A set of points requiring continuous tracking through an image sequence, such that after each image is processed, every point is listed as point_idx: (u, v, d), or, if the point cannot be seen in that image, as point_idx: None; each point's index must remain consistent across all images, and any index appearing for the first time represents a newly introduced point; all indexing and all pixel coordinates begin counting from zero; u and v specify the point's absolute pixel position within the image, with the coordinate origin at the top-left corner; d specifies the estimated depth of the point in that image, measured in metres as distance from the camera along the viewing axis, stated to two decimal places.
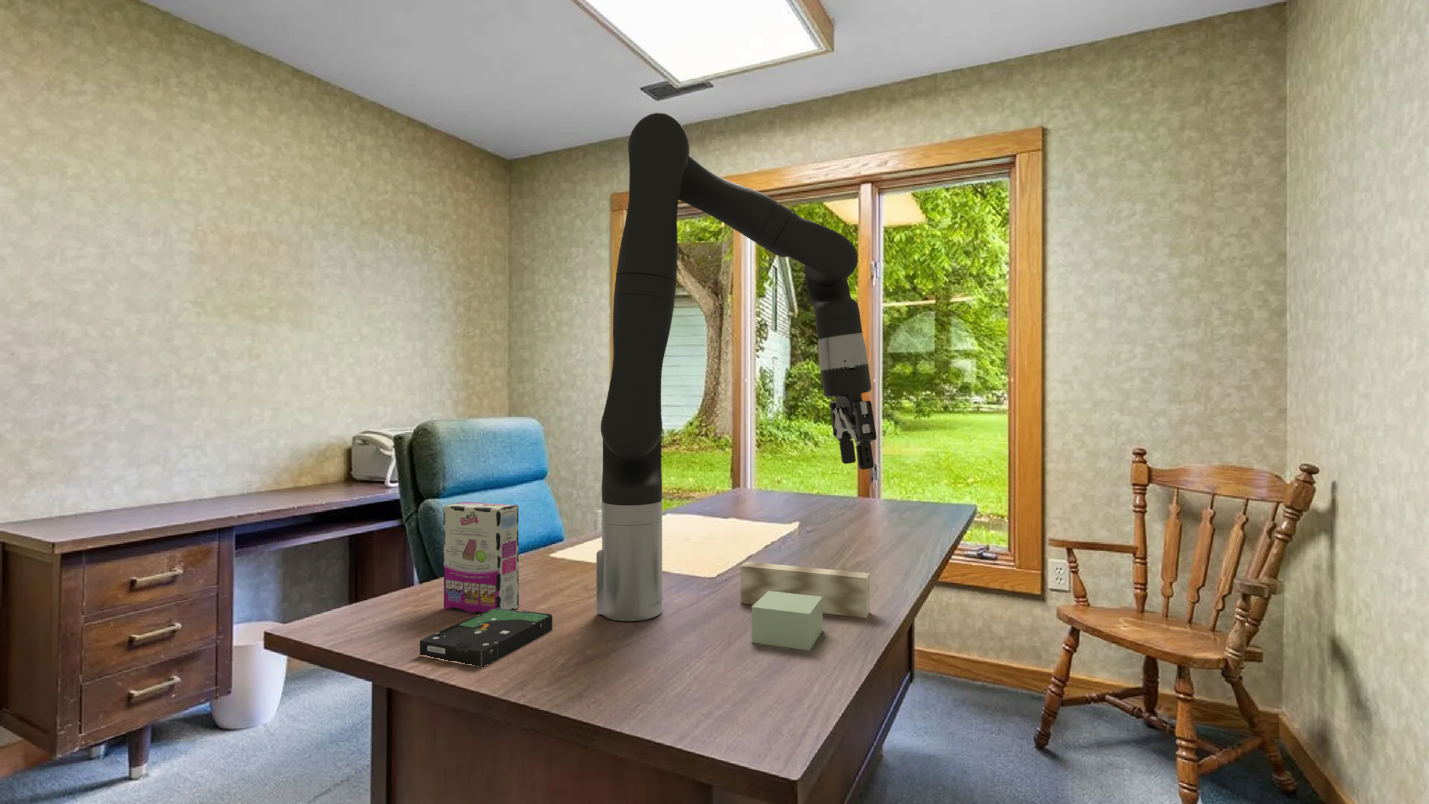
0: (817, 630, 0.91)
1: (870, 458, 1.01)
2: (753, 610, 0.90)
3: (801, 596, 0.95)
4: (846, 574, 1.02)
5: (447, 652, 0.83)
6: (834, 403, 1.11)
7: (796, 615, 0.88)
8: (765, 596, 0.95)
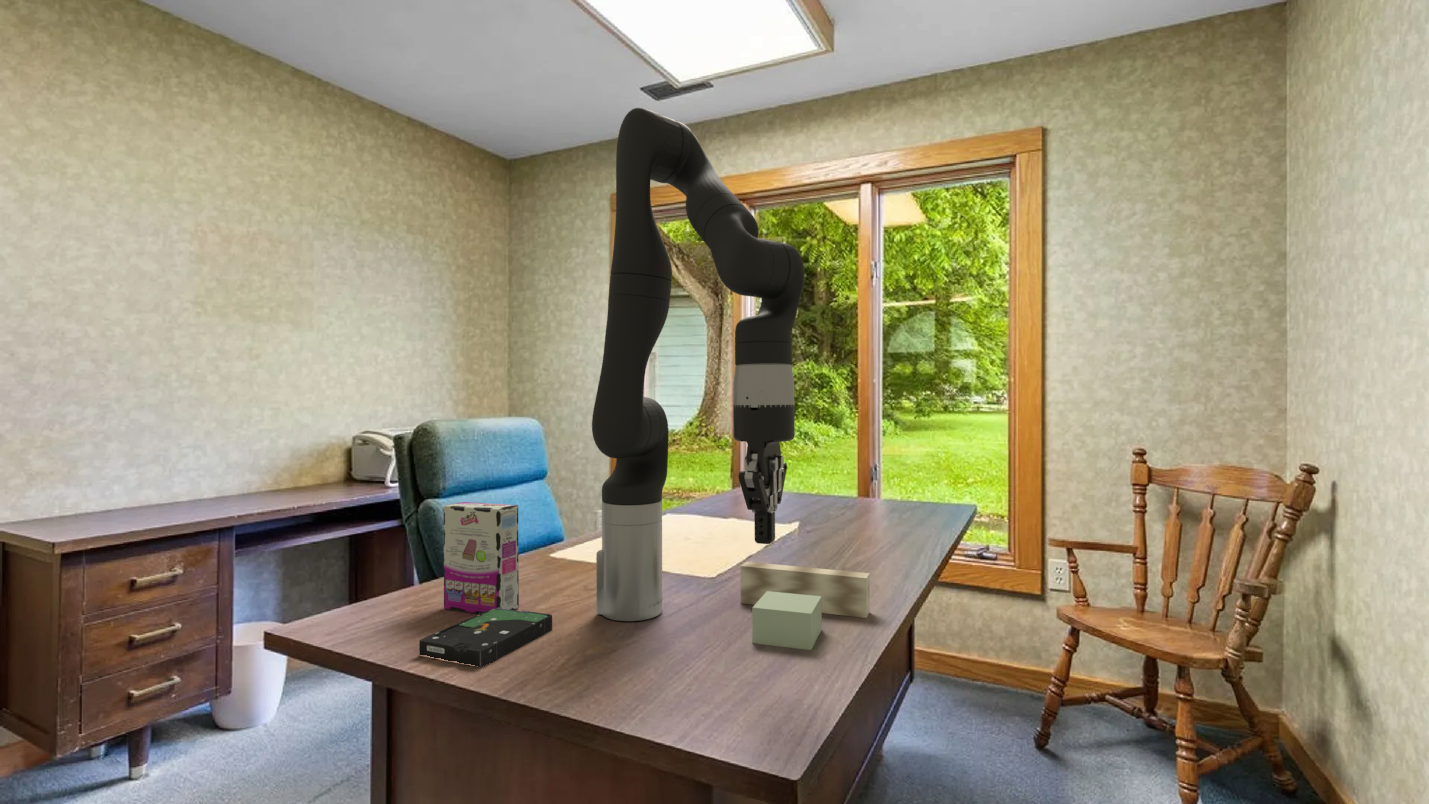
0: (817, 630, 0.91)
1: (765, 532, 0.80)
2: (754, 610, 0.90)
3: (800, 596, 0.95)
4: (846, 574, 1.02)
5: (446, 652, 0.83)
6: None
7: (798, 615, 0.88)
8: (764, 596, 0.94)
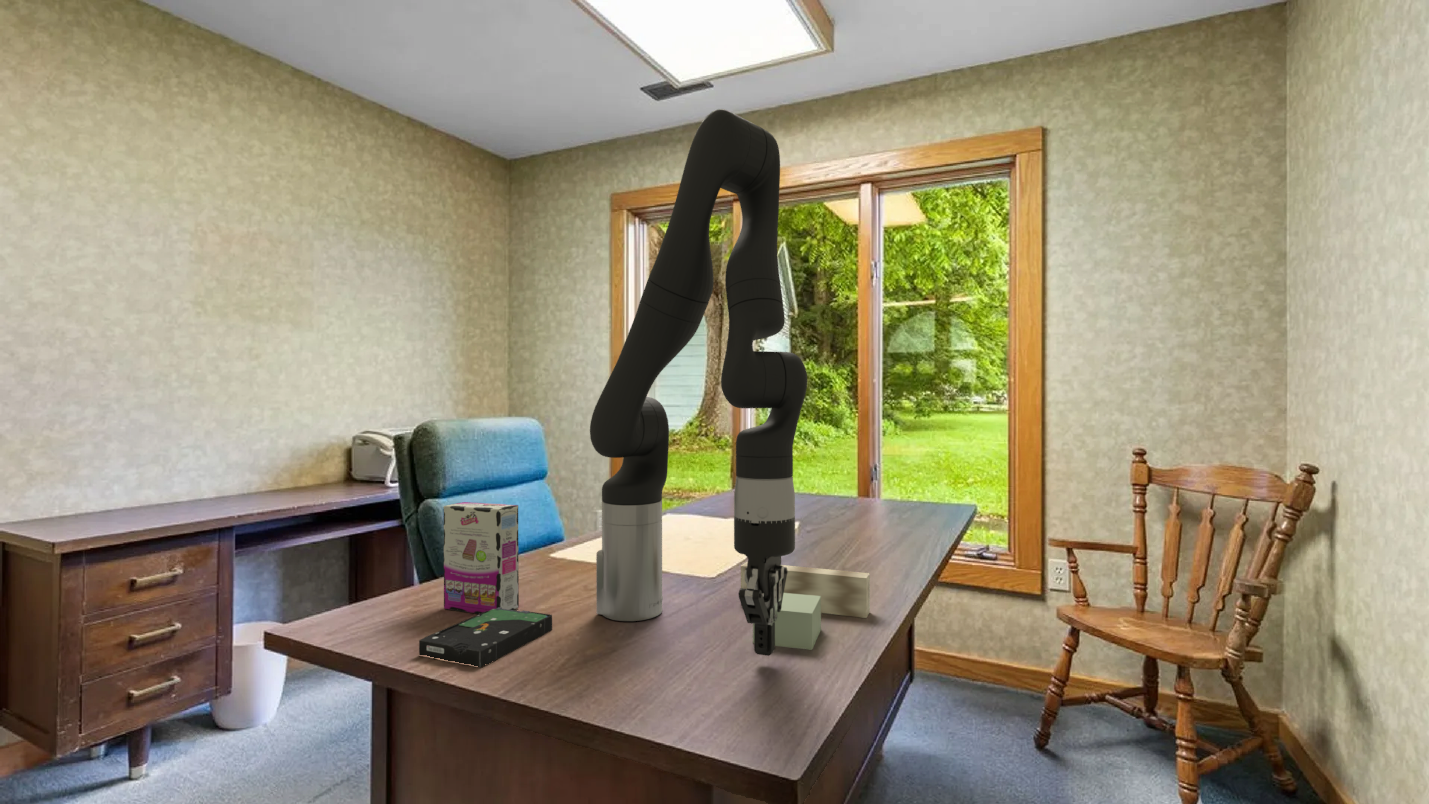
0: (817, 629, 0.92)
1: (764, 644, 0.81)
2: None
3: (800, 596, 0.95)
4: (846, 574, 1.02)
5: (446, 652, 0.83)
6: None
7: (798, 615, 0.88)
8: None
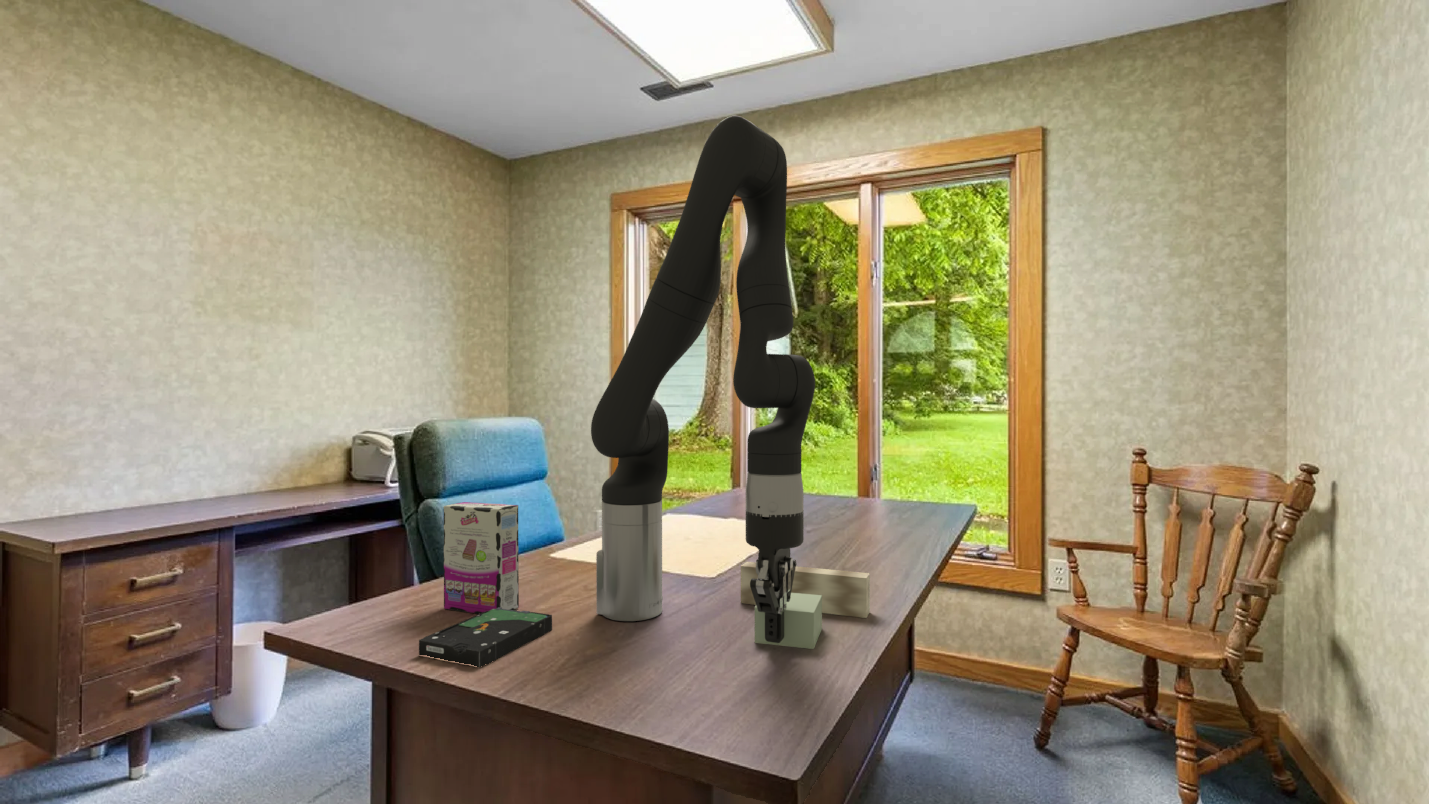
0: (818, 628, 0.92)
1: (774, 632, 0.85)
2: (756, 610, 0.90)
3: (801, 595, 0.95)
4: (846, 574, 1.02)
5: (445, 652, 0.83)
6: None
7: (800, 614, 0.88)
8: None
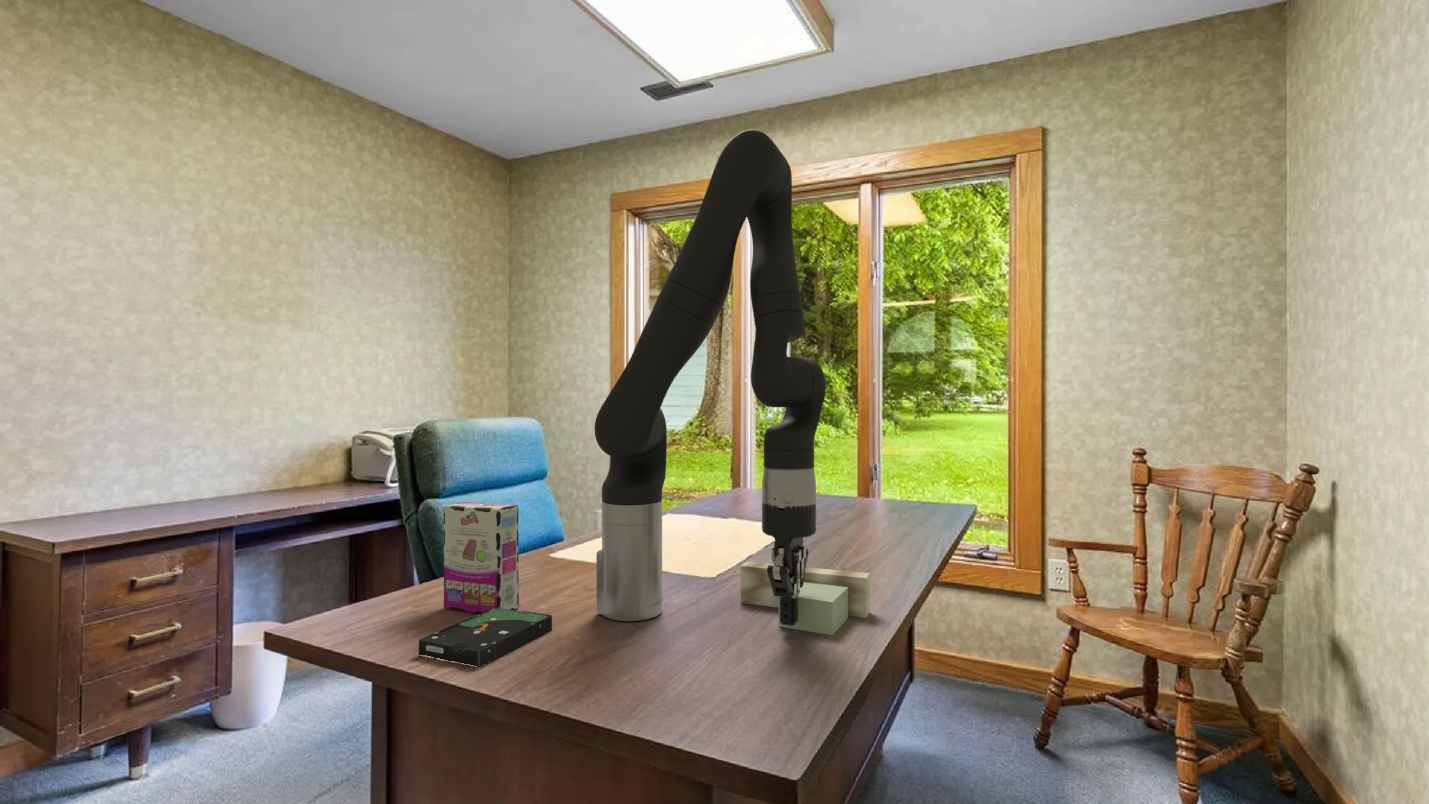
0: (841, 618, 0.97)
1: (789, 615, 0.91)
2: None
3: (827, 586, 1.00)
4: (846, 574, 1.02)
5: (445, 652, 0.83)
6: None
7: (820, 603, 0.93)
8: None
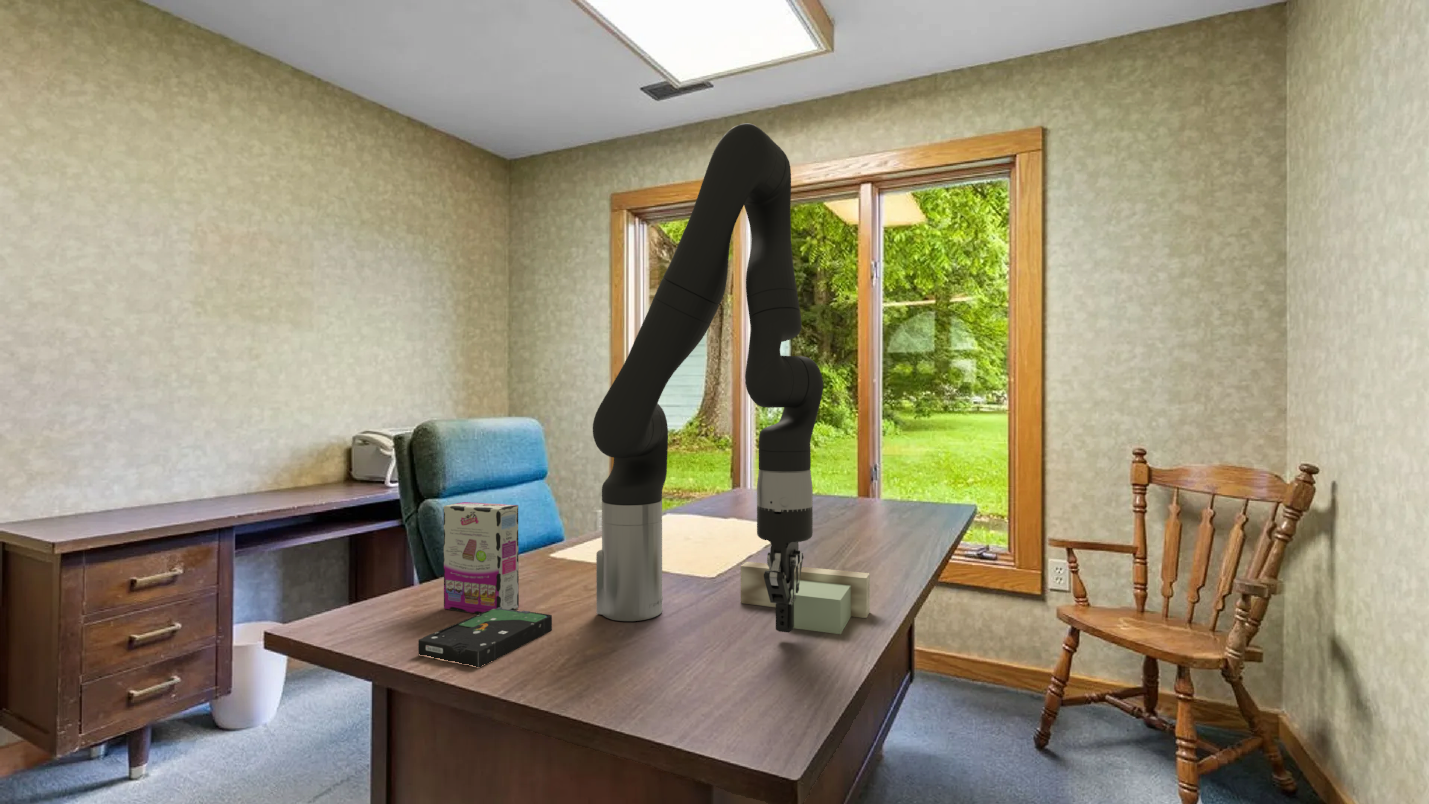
0: (846, 616, 0.97)
1: (785, 622, 0.89)
2: None
3: (831, 584, 1.00)
4: (846, 574, 1.02)
5: (444, 652, 0.83)
6: None
7: (828, 601, 0.93)
8: None
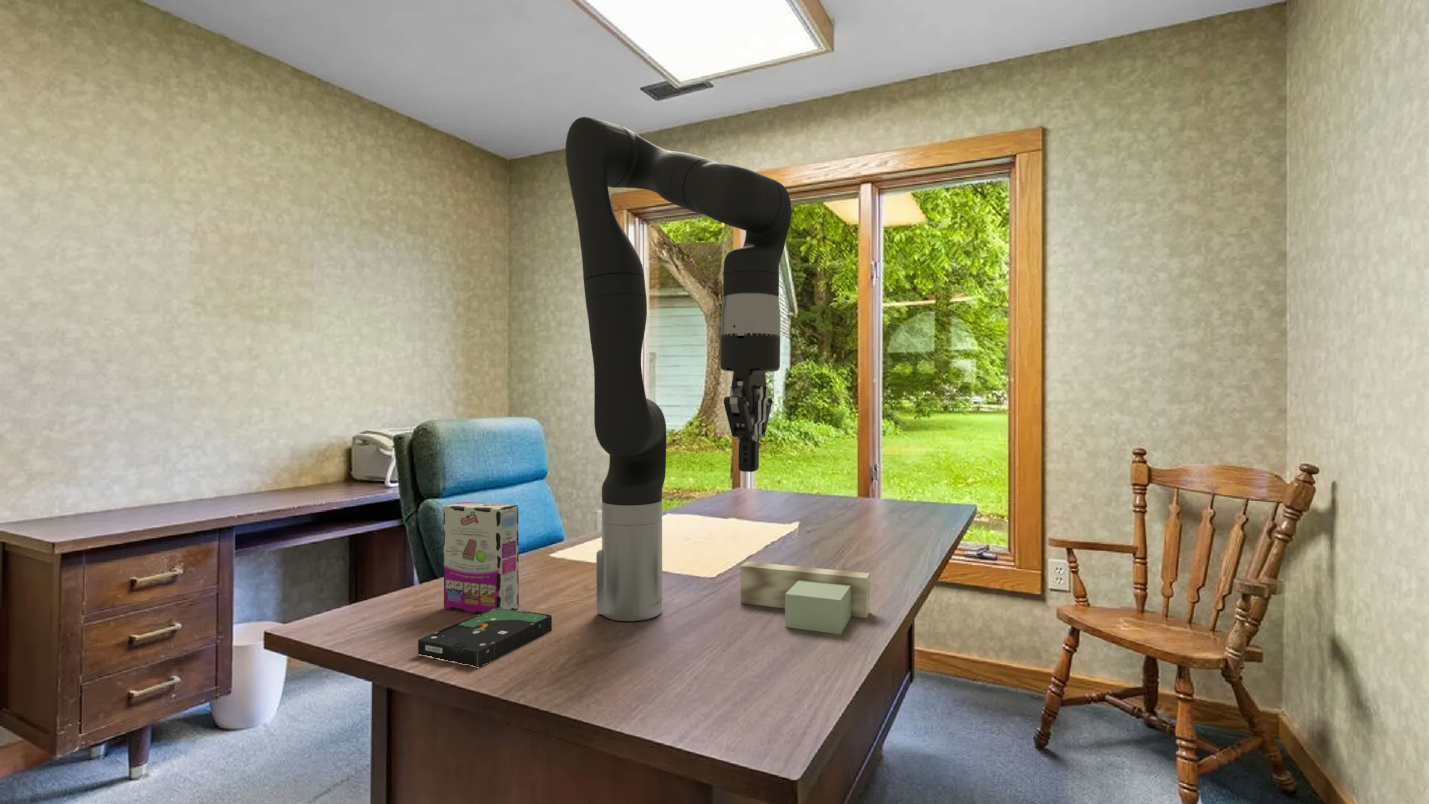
0: (846, 616, 0.97)
1: (748, 459, 0.82)
2: (787, 597, 0.96)
3: (831, 584, 1.00)
4: (846, 574, 1.02)
5: (444, 652, 0.83)
6: None
7: (827, 601, 0.93)
8: (796, 584, 1.01)
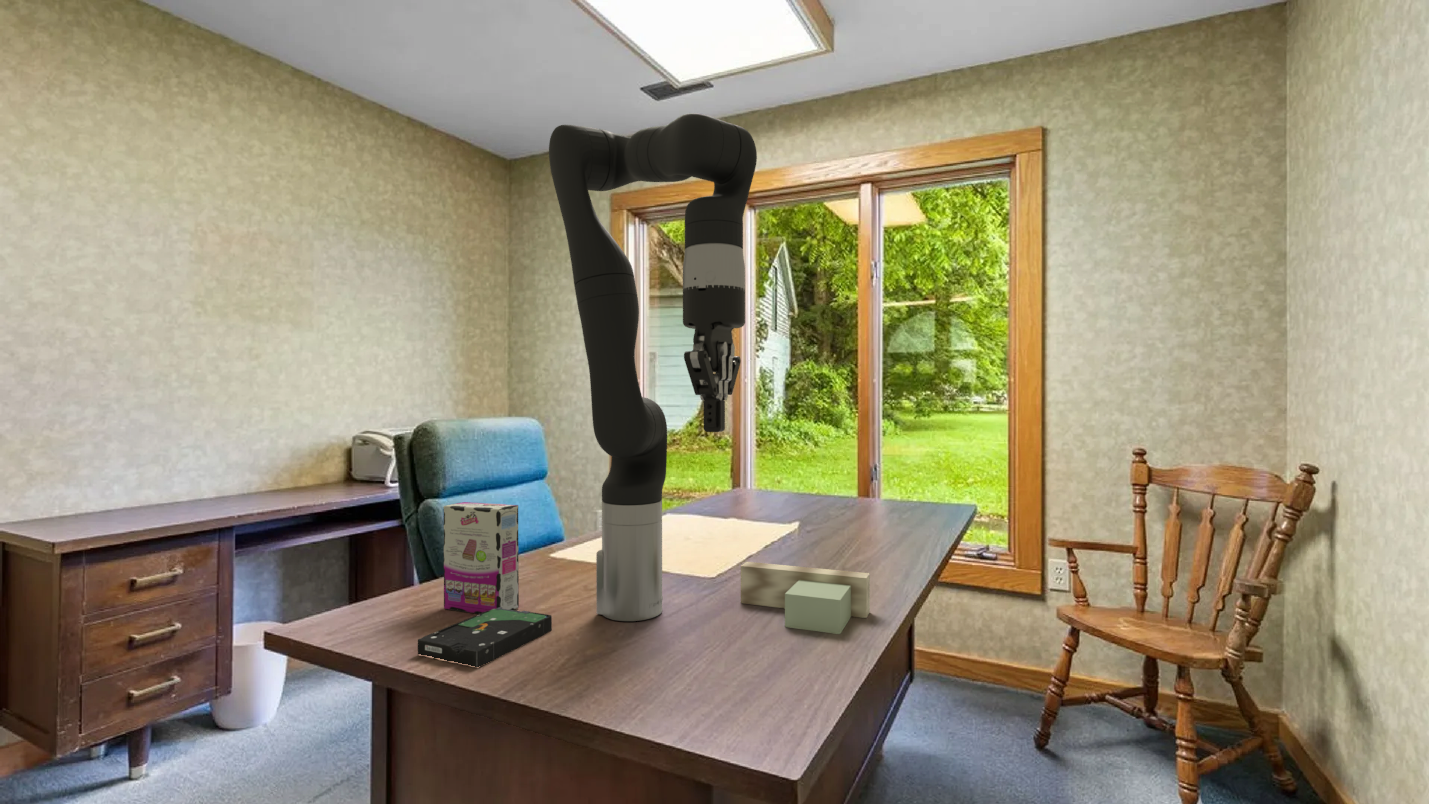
0: (846, 616, 0.97)
1: (713, 418, 0.78)
2: (786, 597, 0.96)
3: (831, 584, 1.00)
4: (846, 574, 1.02)
5: (443, 652, 0.83)
6: None
7: (827, 601, 0.93)
8: (796, 584, 1.01)
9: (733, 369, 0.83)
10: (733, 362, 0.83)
